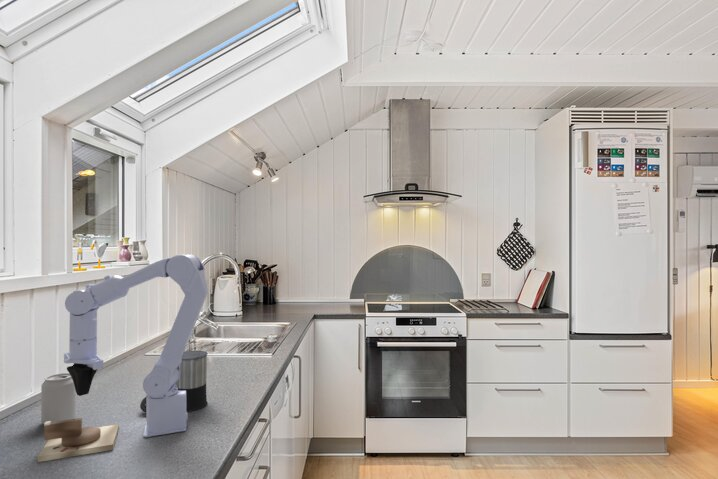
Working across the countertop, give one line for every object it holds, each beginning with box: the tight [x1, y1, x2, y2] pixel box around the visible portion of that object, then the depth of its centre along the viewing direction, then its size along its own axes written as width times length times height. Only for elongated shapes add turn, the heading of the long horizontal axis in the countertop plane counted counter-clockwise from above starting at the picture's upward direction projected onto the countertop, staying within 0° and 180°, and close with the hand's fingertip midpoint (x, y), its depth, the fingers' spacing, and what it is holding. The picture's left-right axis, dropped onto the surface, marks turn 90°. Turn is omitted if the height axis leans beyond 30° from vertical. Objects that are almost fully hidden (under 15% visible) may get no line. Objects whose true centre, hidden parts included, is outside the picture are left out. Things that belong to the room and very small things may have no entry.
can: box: [40, 372, 77, 425], centre depth 114 cm, size 8×8×12 cm
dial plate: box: [37, 423, 120, 463], centre depth 101 cm, size 14×12×1 cm
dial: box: [43, 417, 101, 447], centre depth 100 cm, size 11×8×5 cm
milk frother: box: [139, 350, 208, 413], centre depth 123 cm, size 14×16×15 cm
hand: (82, 394), depth 107 cm, fingers closed
